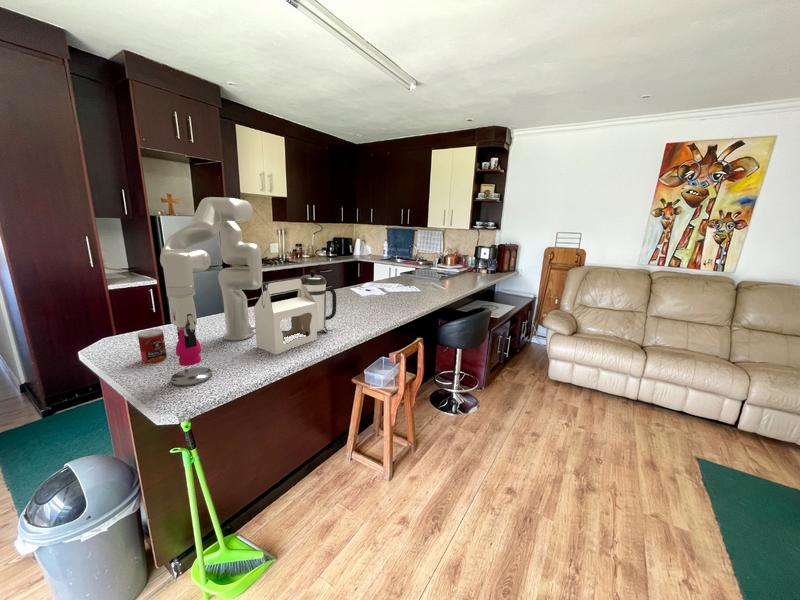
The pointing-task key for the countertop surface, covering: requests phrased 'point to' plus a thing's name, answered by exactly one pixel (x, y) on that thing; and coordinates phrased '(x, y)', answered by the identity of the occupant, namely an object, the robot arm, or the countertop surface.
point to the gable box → (274, 313)
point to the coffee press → (319, 298)
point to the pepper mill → (187, 350)
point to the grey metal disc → (191, 376)
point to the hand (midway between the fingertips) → (187, 343)
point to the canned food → (152, 345)
